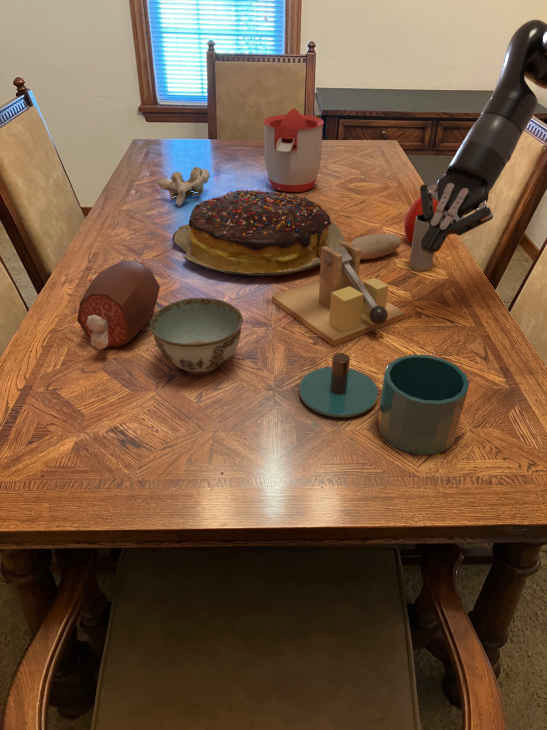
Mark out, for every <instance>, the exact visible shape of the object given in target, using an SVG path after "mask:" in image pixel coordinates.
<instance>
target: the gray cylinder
mask: <svg viewBox="0 0 547 730" xmlns="http://www.w3.org/2000/svg"><path fill="white" fill-rule="evenodd" d="M429 226H430V224H429V223H428V222H427V221H426V219H425V218H424V217H423V214H420V215H418V216H416V221H415V227H414V234H413V240H412V243H411V247H410V254H409V261H408V267H409V268H410V269H412V270H414V271H418V272H426V271H429V270H431V269H432V266H433V261H434V255H435V252H434V253H433V254H429V253H427V252H425V251H423V250H422V248H421V247H422V245H421V240H422V239H423V237H424V235H425V234H426V232H427V230H428V228H429Z"/></svg>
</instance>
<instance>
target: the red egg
mask: <svg viewBox="0 0 547 730" xmlns="http://www.w3.org/2000/svg"><path fill="white" fill-rule="evenodd" d="M432 201H433V208H434V214H435V212H436V207H437V205H438V203H439V202H438V199H437V198H436V197H435V199H434V200H432ZM420 214H423V209H422V201H421V196H419V197H417V199H416V200H414V202H413V203H412V204H411V206H410V207H409V209H408V210H407V213H406V215H405V217H404V223H403V227H404V235H405V238H406V239H407V241H408V242H409V243H411V244H412V240H413V234H414V227H415V221H416V216H418V215H420Z"/></svg>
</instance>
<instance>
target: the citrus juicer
mask: <svg viewBox="0 0 547 730" xmlns="http://www.w3.org/2000/svg"><path fill="white" fill-rule="evenodd" d="M262 123H263V125H264V161H265V162H264V164H265V169H266V174H267V177H268V182H269V184H270V183H271V184H270V186H271V188H273V189H274V190H275V191H279V192H280V191H281V192H286V193H304V192H306V191H309V190H311V189H313V187H314V185H315V183H316V181H317V177H318V175H319V172H320V167H321V163H322V162H321V161H322V147H323V145H322V144H323V128H324V127H323V125H324V124H325V121H324V120H323V119H322V118H320V117H317V116H313V115H307V114H301V113H300V112H299V111H298V110H297V109H296V108H291V109H290V110H289V111H288V112H287V114H278V115H272V116H269V117H266V118H264V120H263V122H262ZM279 188H280V189H279Z"/></svg>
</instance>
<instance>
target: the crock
mask: <svg viewBox="0 0 547 730" xmlns="http://www.w3.org/2000/svg"><path fill="white" fill-rule="evenodd" d="M467 377H468V376H467V374H466V373H465V372H464V370H463V371H462V369H460V367H458V365H456V364H454V363H453V362H451V361H448V360H447V359H445V358H441V357H438V356H433V355H429V354H410V355H409V354H408V355H403V356H399V357H398V358H396V359H394V360H392V361H390V362H389V363H388V365H387V367H386V369H385V371H384V374H383V381H382V388H381V395H380V403H379V409H378V416H377V417H378V418H377V421H378V422H377V425H378V426H377V427H378V431H379V434H380V435H381V436H382V437H383V439H384V440H385V441H386V442H387V443H388V444H390V445H391V446H392V447H394V448H395V449H397V450H400V451H402V452H405V453H408V454H413V455H417V456H418V455H420V456H430V455H431V456H433V455H437V454H440V453H443V452H445V451H446V450H448V449H450V448H451V446H452V445H453V444H454V442H455V440H456V437H457V434H458V431H459V427H460V423H461V418H462V414H463V411H464V407H465V403H466V399H467V396H468V392H469V387H470V383H469V380H468V378H467Z"/></svg>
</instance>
